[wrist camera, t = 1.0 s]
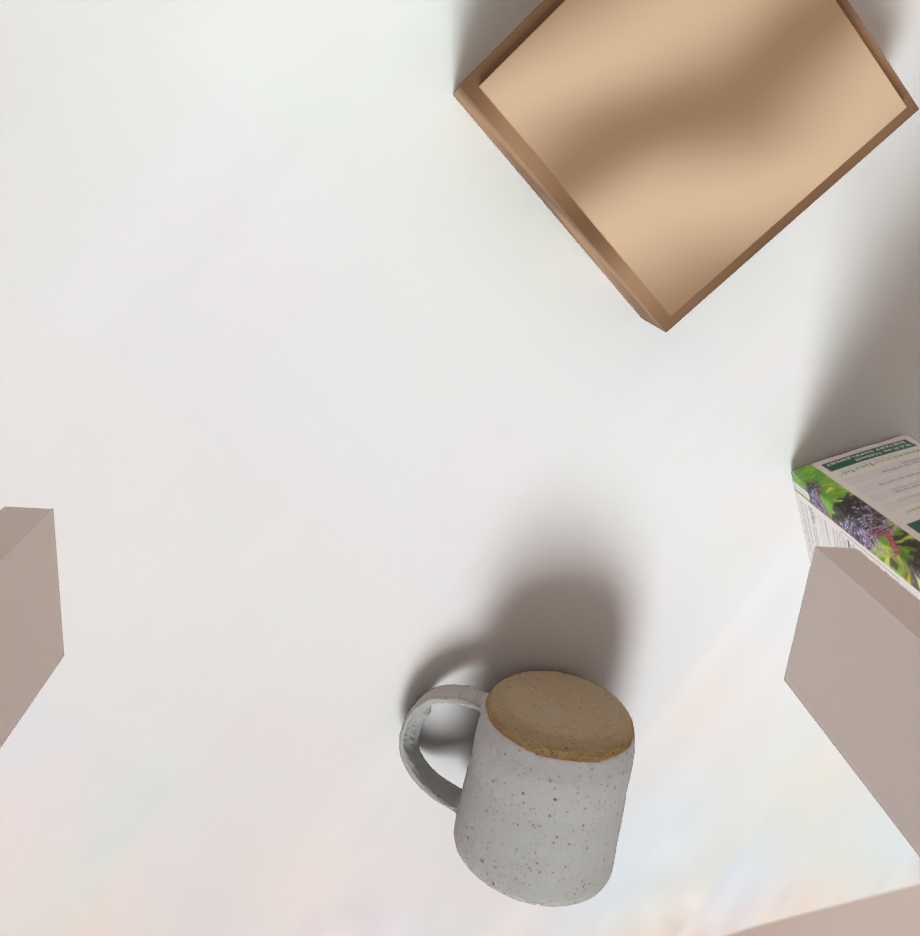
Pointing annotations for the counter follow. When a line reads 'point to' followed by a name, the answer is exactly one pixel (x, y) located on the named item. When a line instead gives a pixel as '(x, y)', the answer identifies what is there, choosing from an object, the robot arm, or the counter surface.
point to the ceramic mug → (535, 783)
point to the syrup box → (867, 506)
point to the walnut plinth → (683, 128)
